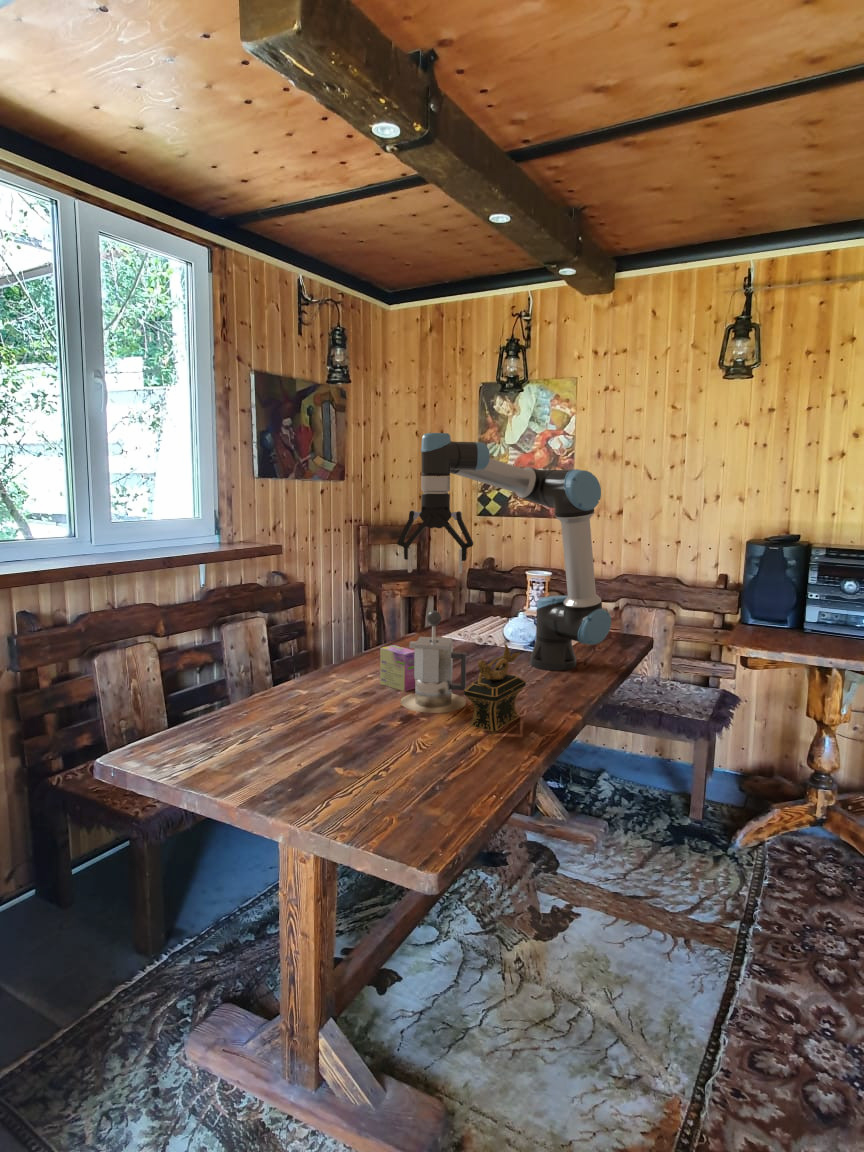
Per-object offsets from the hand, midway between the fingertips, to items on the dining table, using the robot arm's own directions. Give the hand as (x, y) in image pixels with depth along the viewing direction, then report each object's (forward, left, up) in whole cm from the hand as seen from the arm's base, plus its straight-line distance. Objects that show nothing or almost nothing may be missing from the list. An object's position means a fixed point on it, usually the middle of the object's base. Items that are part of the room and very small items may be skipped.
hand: (435, 572), depth 187 cm
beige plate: (0, +1, -36) cm, 37 cm away
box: (+12, -12, -37) cm, 41 cm away
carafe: (-1, +1, -36) cm, 36 cm away
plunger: (0, +1, -27) cm, 27 cm away
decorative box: (-18, +12, -37) cm, 43 cm away
